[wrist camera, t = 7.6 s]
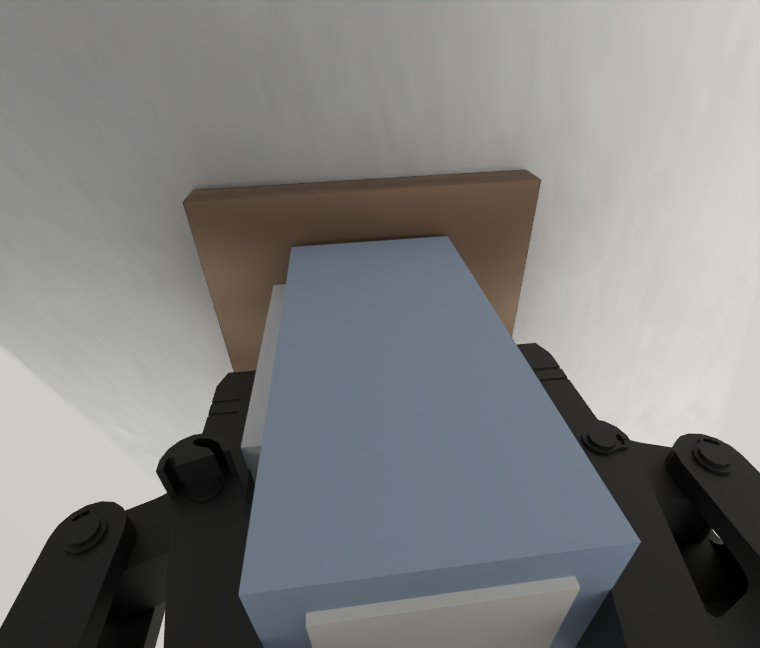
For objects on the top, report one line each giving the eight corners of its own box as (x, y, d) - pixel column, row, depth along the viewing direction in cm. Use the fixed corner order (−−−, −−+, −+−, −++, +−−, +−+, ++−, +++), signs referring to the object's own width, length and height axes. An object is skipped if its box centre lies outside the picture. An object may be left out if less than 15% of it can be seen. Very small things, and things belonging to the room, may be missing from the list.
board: (192, 190, 13) (182, 202, 12) (525, 170, 14) (541, 179, 13) (271, 465, 21) (268, 486, 20) (481, 442, 22) (488, 461, 21)
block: (291, 246, 13) (235, 610, 5) (447, 236, 13) (648, 554, 5) (310, 368, 16) (297, 729, 8) (439, 356, 16) (560, 687, 8)
